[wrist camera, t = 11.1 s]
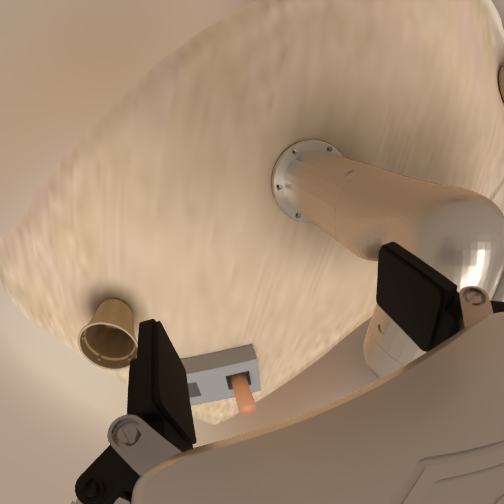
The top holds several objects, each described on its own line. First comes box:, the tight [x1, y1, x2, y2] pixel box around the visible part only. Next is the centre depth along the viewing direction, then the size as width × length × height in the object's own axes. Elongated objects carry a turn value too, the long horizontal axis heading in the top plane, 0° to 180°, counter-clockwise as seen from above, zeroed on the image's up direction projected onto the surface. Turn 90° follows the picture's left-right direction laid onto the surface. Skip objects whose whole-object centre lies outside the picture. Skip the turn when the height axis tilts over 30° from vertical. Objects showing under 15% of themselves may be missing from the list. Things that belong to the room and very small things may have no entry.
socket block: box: [180, 344, 261, 405], centre depth 52 cm, size 18×10×4 cm, turn 96°
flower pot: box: [78, 299, 138, 370], centre depth 40 cm, size 9×9×9 cm
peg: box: [229, 372, 256, 414], centre depth 50 cm, size 3×3×11 cm
